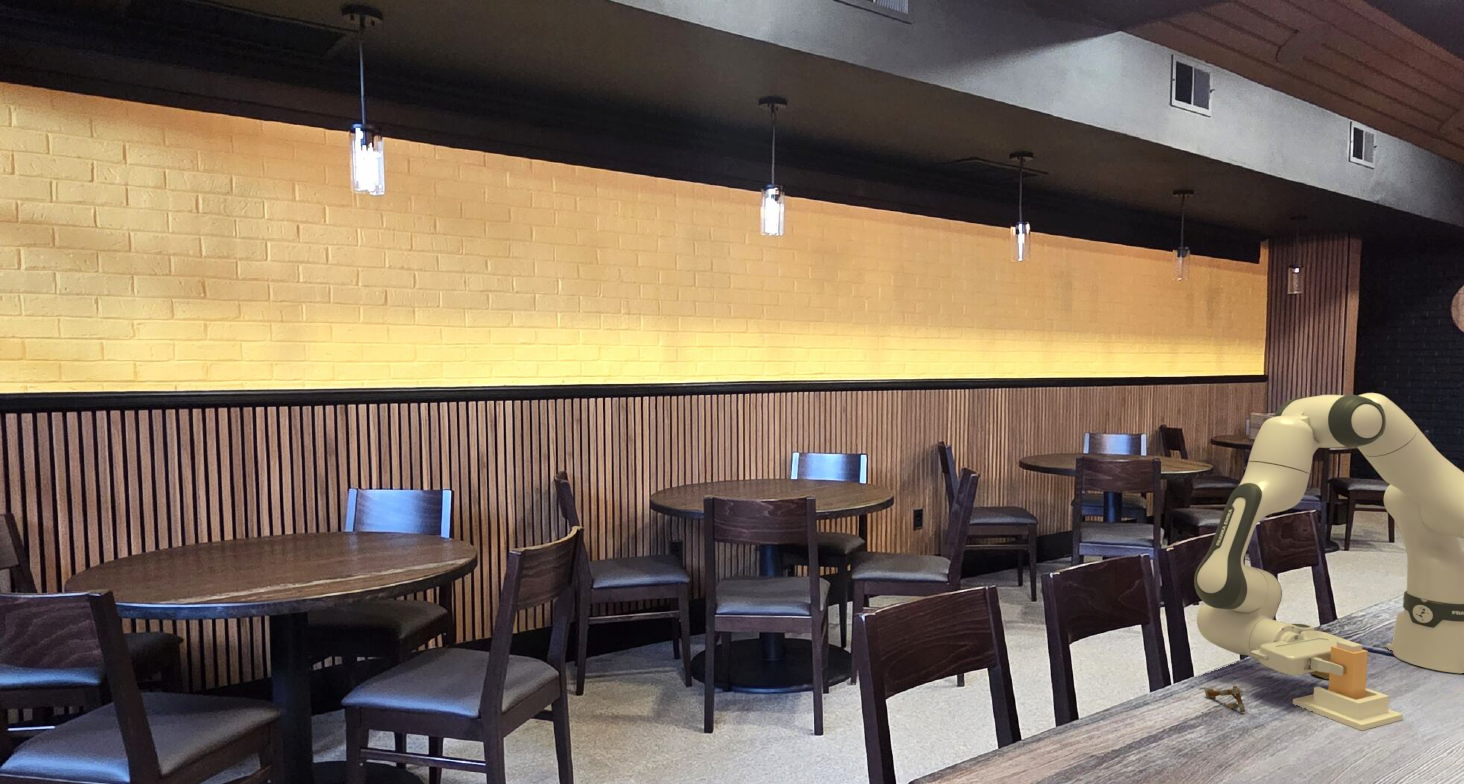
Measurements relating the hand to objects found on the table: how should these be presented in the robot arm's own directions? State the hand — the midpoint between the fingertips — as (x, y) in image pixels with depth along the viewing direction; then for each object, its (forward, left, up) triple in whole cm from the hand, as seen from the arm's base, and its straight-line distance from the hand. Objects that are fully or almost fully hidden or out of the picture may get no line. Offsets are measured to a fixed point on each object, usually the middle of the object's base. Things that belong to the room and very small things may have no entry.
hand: (1353, 668), depth 157 cm
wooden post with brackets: (+18, -12, -9) cm, 23 cm away
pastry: (-18, -13, -9) cm, 24 cm away
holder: (0, -1, -8) cm, 8 cm away
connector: (0, -1, -5) cm, 6 cm away
